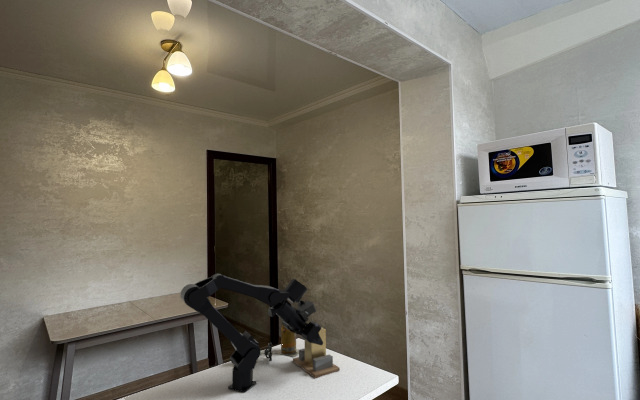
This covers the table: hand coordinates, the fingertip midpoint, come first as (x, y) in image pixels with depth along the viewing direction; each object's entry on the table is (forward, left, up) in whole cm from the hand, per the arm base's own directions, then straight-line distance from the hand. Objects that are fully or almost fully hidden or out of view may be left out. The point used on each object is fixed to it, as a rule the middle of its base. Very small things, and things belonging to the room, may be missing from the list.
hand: (315, 340), depth 117 cm
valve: (-5, +22, -9) cm, 25 cm away
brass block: (0, 0, -8) cm, 8 cm away
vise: (0, 0, -9) cm, 9 cm away
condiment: (+8, +15, -9) cm, 19 cm away
